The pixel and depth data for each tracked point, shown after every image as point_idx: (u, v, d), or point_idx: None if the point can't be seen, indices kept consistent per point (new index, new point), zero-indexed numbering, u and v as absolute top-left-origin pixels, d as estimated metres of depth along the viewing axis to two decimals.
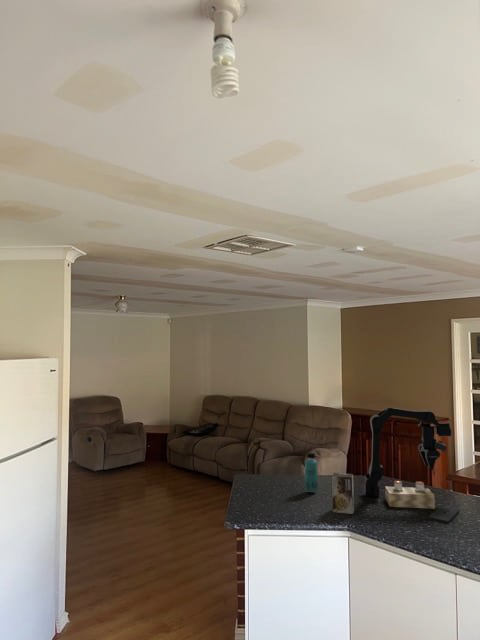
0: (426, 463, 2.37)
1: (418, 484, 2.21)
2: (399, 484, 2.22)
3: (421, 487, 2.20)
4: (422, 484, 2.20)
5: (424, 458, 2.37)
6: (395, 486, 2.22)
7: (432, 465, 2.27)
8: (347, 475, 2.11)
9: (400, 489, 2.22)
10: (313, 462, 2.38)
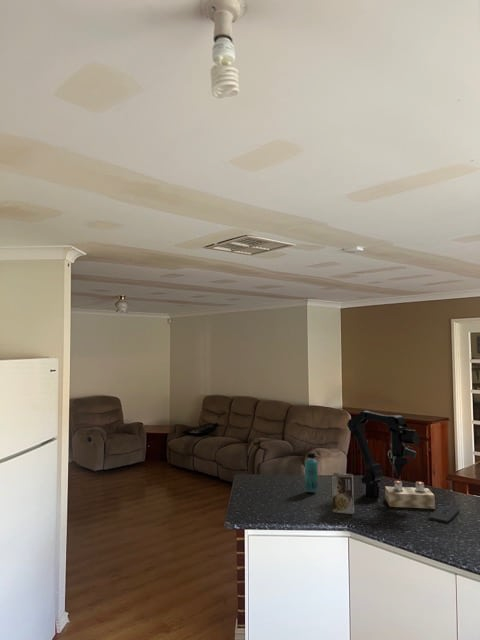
0: (396, 471, 2.27)
1: (418, 484, 2.21)
2: (399, 484, 2.22)
3: (421, 487, 2.20)
4: (422, 484, 2.20)
5: (394, 466, 2.27)
6: (395, 486, 2.22)
7: (399, 472, 2.20)
8: (347, 475, 2.11)
9: (400, 489, 2.22)
10: (313, 462, 2.38)
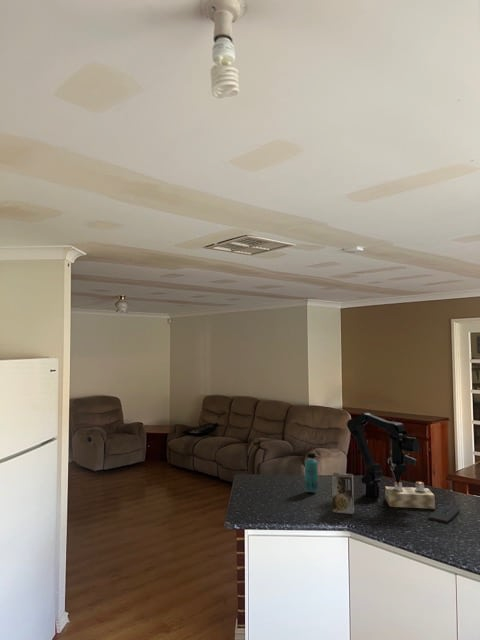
0: None
1: (418, 484, 2.21)
2: (399, 485, 2.22)
3: (421, 487, 2.20)
4: (422, 484, 2.20)
5: None
6: (395, 487, 2.22)
7: (398, 478, 2.23)
8: (347, 475, 2.11)
9: (400, 490, 2.21)
10: (313, 462, 2.38)
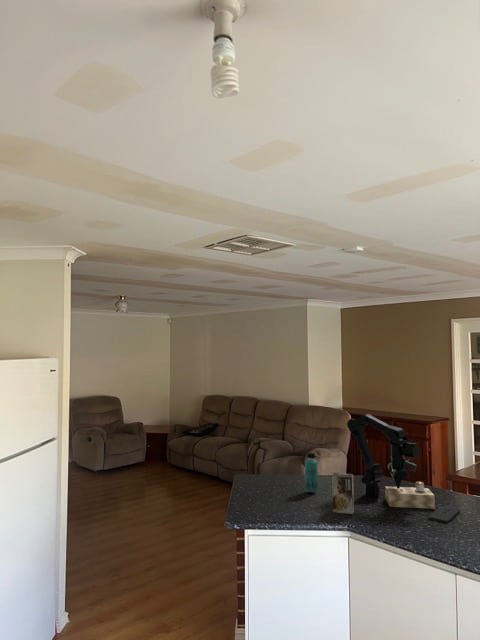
0: None
1: (418, 484, 2.21)
2: None
3: (421, 487, 2.20)
4: (422, 484, 2.20)
5: None
6: None
7: (399, 483, 2.22)
8: (347, 475, 2.11)
9: None
10: (313, 462, 2.38)
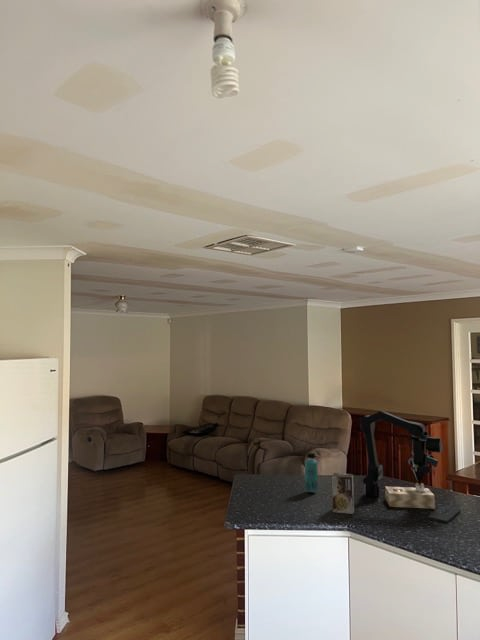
0: None
1: (418, 485, 2.21)
2: None
3: (421, 488, 2.20)
4: (422, 485, 2.20)
5: None
6: None
7: (420, 479, 2.21)
8: (347, 475, 2.11)
9: None
10: (313, 462, 2.38)
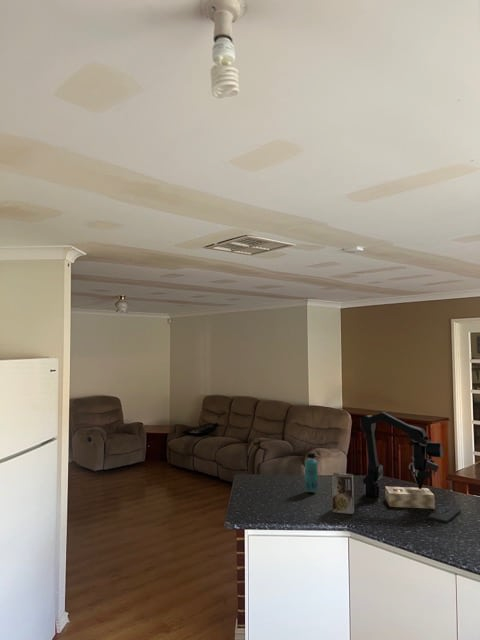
0: None
1: None
2: None
3: None
4: None
5: None
6: None
7: (420, 484, 2.21)
8: (347, 475, 2.11)
9: None
10: (313, 462, 2.38)
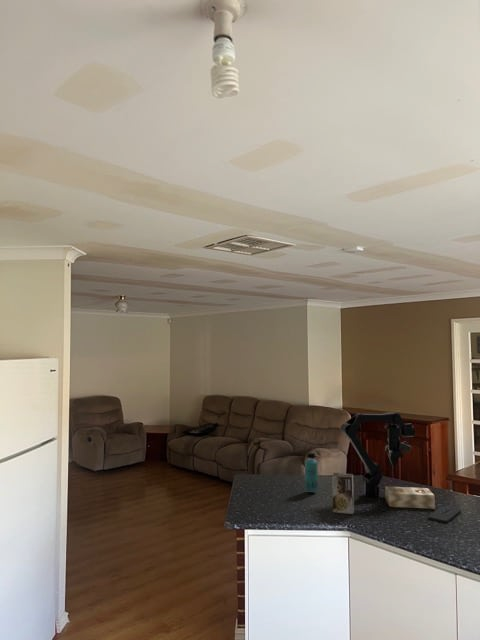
0: None
1: None
2: None
3: None
4: None
5: None
6: None
7: (395, 463, 2.37)
8: (347, 475, 2.11)
9: None
10: (313, 462, 2.38)
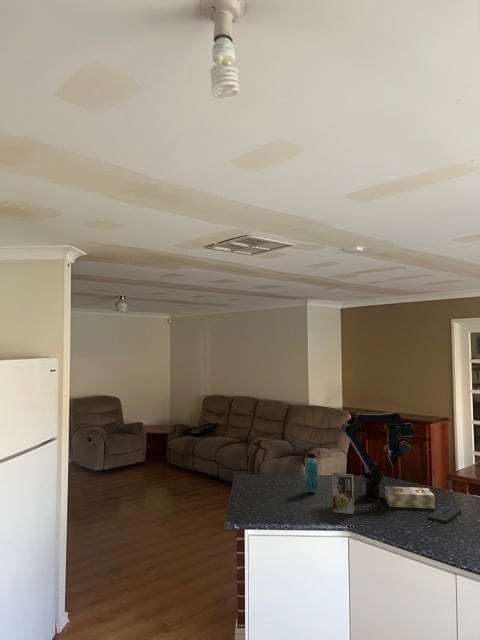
0: None
1: None
2: None
3: None
4: None
5: None
6: None
7: (394, 463, 2.37)
8: (347, 475, 2.11)
9: None
10: (313, 462, 2.38)
